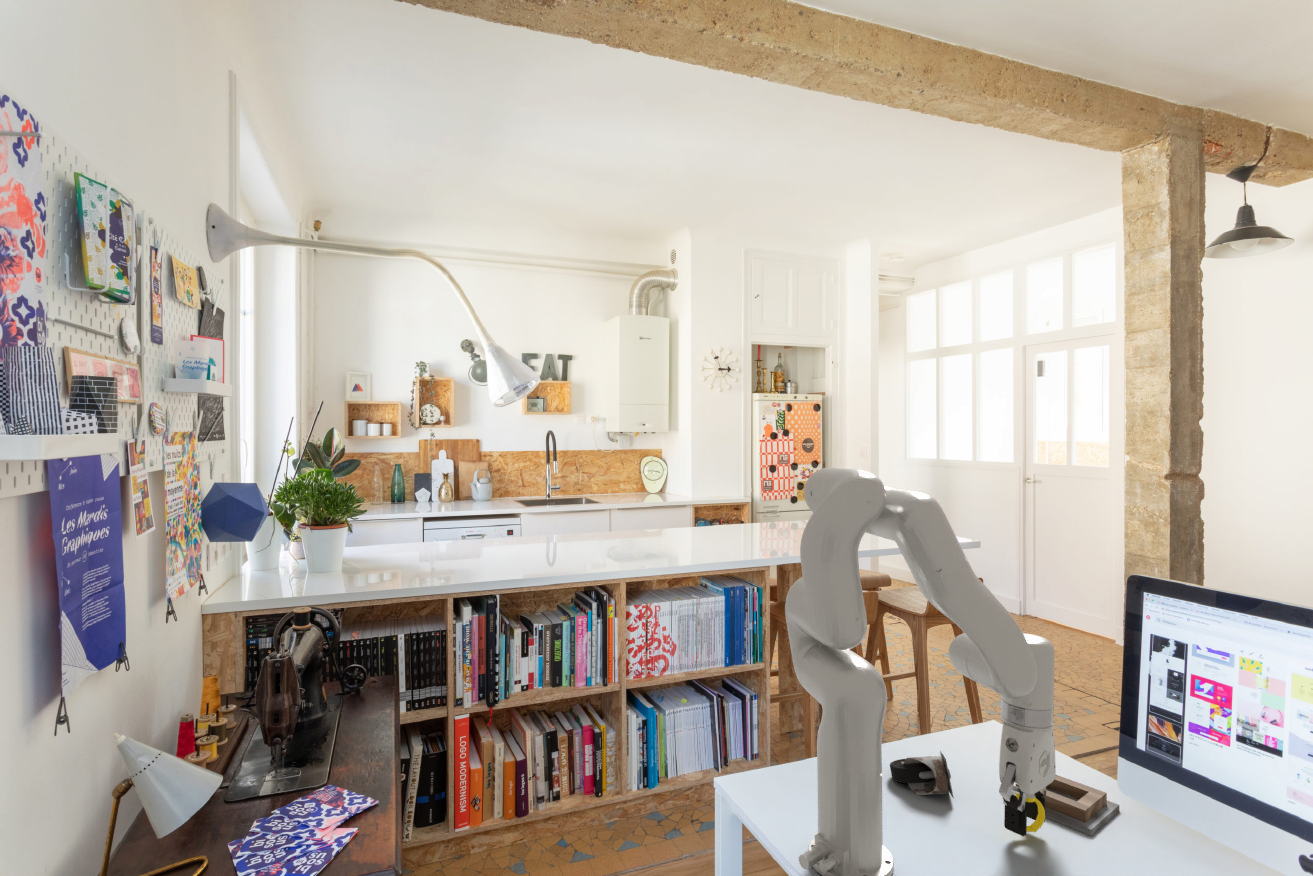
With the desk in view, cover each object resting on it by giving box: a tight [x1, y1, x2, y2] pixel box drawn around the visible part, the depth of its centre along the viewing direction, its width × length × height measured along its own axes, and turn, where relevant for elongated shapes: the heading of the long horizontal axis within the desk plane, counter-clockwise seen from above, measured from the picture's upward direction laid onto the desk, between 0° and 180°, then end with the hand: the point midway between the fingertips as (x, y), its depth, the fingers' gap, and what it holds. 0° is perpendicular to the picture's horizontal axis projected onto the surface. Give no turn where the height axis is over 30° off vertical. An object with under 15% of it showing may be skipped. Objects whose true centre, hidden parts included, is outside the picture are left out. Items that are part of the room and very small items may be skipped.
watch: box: [1015, 791, 1046, 833], centre depth 111 cm, size 6×3×6 cm, turn 94°
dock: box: [1012, 774, 1120, 837], centre depth 120 cm, size 12×14×3 cm
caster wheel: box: [889, 750, 954, 799], centre depth 127 cm, size 7×11×10 cm
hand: (1024, 824), depth 111 cm, fingers closed on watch, 5 cm apart
